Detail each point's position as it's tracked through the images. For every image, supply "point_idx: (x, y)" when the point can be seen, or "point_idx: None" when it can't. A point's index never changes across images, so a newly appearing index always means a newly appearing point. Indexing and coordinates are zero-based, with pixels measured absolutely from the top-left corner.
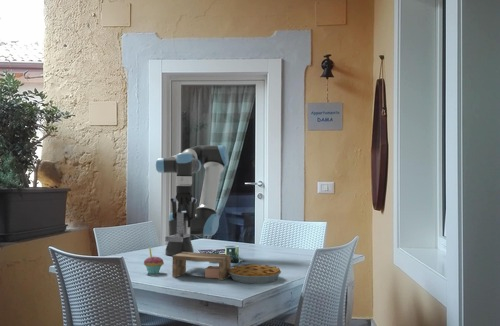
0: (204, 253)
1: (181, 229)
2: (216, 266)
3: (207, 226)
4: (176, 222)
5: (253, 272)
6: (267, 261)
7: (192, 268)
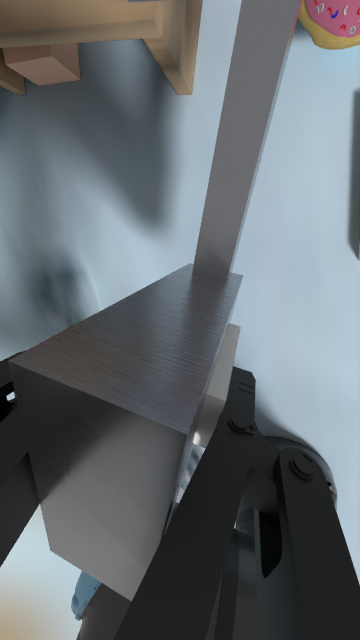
0: (19, 12)
1: (185, 280)
2: (23, 53)
3: None
4: (251, 402)
5: None
6: (26, 348)
7: (174, 205)
